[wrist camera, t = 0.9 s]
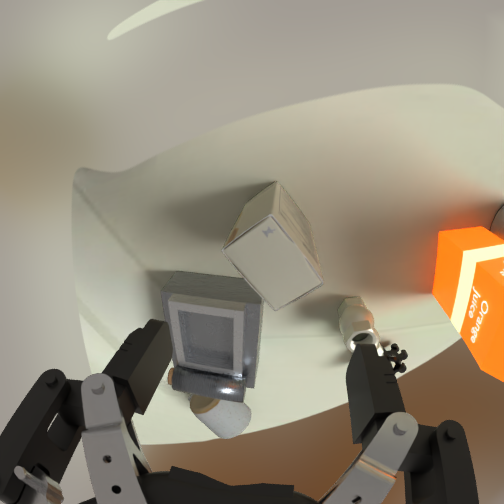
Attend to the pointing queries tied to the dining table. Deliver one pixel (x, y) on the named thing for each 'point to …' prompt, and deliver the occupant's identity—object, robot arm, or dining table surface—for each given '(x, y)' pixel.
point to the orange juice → (474, 292)
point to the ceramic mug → (221, 415)
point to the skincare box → (274, 248)
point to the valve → (365, 331)
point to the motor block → (213, 334)
